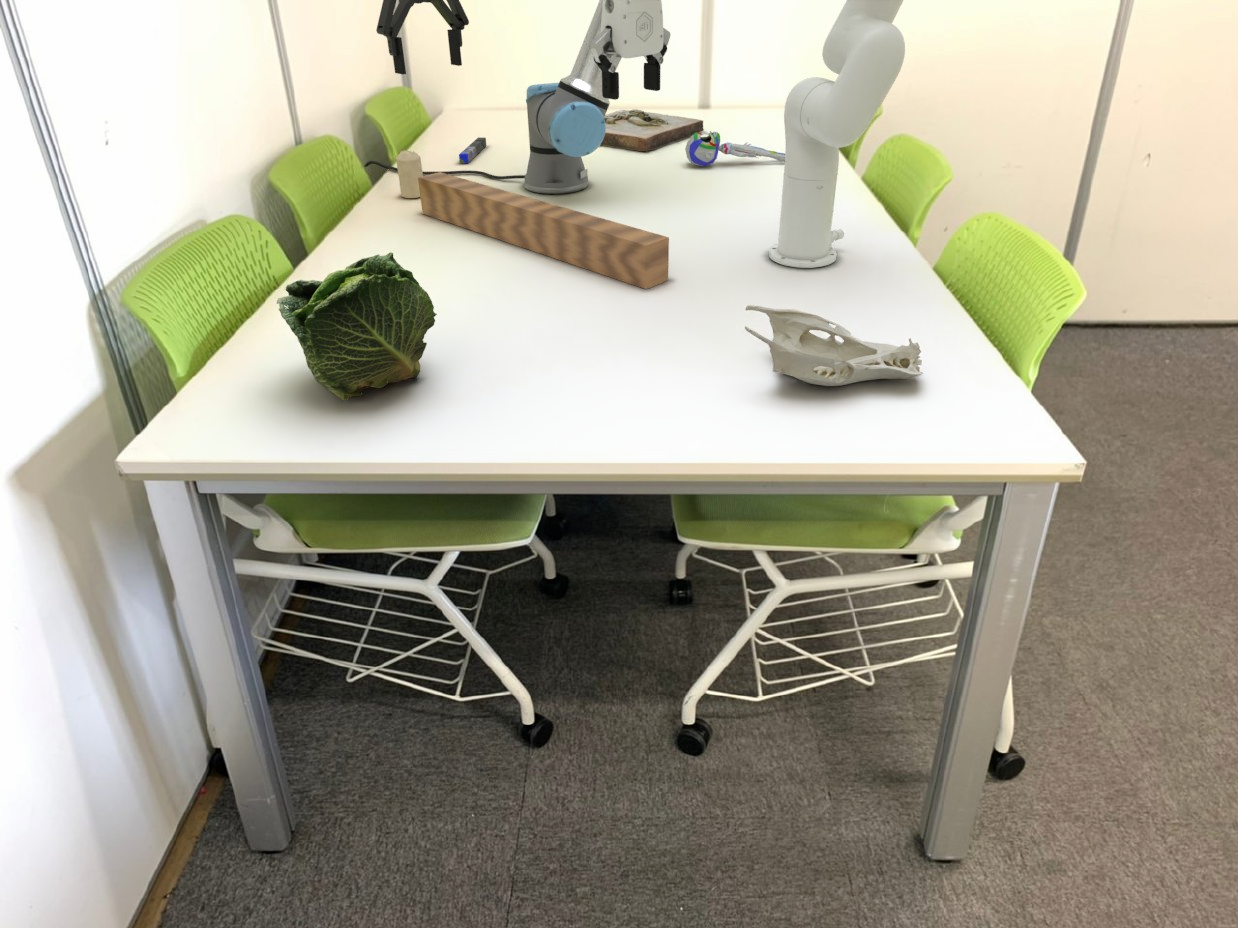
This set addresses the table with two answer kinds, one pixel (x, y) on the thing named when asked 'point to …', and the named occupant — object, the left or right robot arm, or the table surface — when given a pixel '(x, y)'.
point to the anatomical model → (832, 351)
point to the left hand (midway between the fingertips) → (429, 69)
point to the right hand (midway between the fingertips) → (631, 94)
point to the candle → (409, 173)
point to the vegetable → (360, 325)
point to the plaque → (647, 129)
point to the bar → (548, 229)
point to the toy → (721, 149)
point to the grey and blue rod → (472, 150)
